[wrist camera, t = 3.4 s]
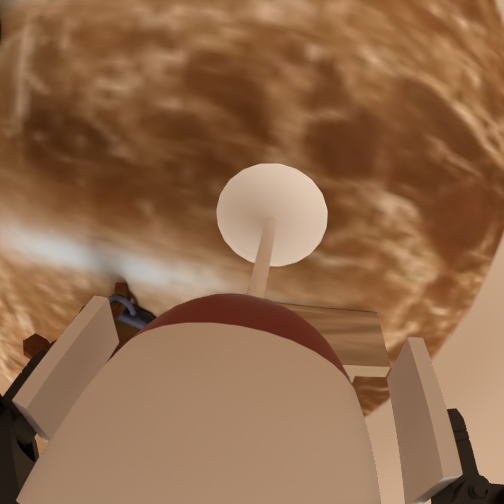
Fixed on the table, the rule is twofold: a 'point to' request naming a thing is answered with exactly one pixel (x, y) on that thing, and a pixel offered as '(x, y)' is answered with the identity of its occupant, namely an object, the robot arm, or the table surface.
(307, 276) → the table surface
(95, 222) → the table surface
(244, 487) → the wineglass
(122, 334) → the brown pitcher
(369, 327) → the square tray
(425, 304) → the table surface
